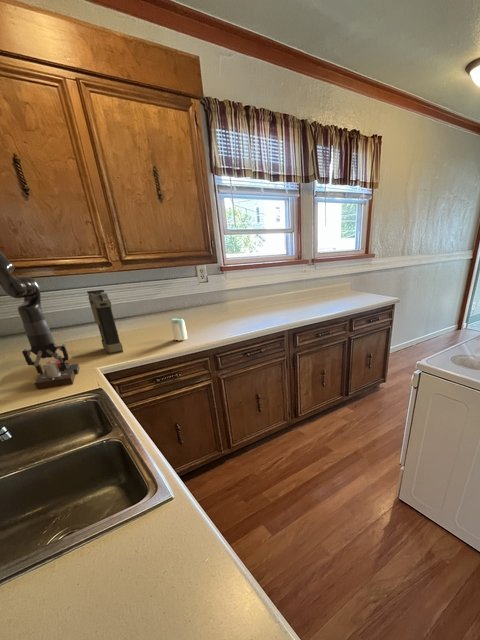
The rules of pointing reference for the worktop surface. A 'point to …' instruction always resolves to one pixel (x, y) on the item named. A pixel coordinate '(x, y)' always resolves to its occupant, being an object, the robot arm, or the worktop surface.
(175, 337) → the can
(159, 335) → the worktop surface
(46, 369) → the white cup
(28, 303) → the robot arm
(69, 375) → the panel
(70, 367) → the switch block
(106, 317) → the device
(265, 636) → the worktop surface
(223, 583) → the worktop surface
